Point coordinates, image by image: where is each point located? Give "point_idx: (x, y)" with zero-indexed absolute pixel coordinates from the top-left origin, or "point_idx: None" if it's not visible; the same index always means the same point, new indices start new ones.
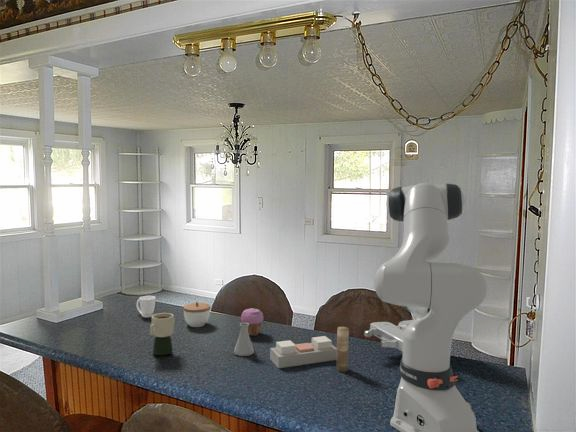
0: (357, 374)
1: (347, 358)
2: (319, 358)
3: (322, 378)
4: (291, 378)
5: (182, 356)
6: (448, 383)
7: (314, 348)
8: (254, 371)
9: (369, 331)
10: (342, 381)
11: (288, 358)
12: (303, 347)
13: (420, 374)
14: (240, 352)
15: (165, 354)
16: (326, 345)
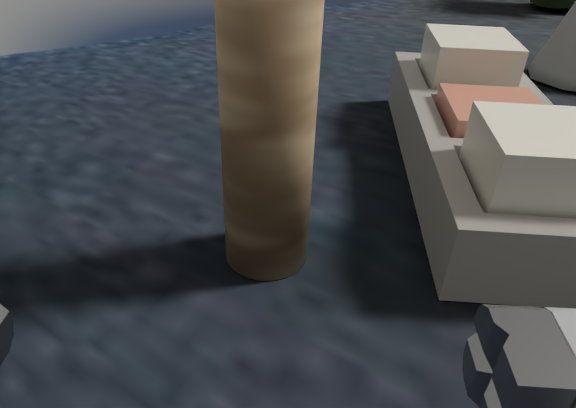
0: (142, 288)
1: (226, 188)
2: (420, 187)
3: (217, 156)
4: None
5: (533, 19)
6: None
7: None
8: (383, 66)
9: (533, 355)
10: (129, 195)
11: (398, 80)
12: (473, 96)
13: None
14: (536, 56)
15: (532, 2)
16: (482, 160)
